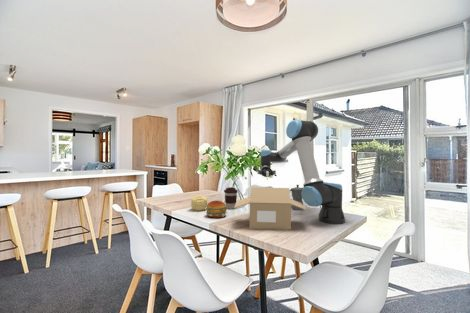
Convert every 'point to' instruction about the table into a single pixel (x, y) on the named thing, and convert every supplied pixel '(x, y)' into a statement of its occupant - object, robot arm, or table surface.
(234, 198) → the coffee cup
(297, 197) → the coffeepot
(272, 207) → the carton
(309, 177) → the robot arm
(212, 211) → the burger
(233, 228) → the table surface
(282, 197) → the near flap
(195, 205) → the sculpture
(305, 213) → the table surface
